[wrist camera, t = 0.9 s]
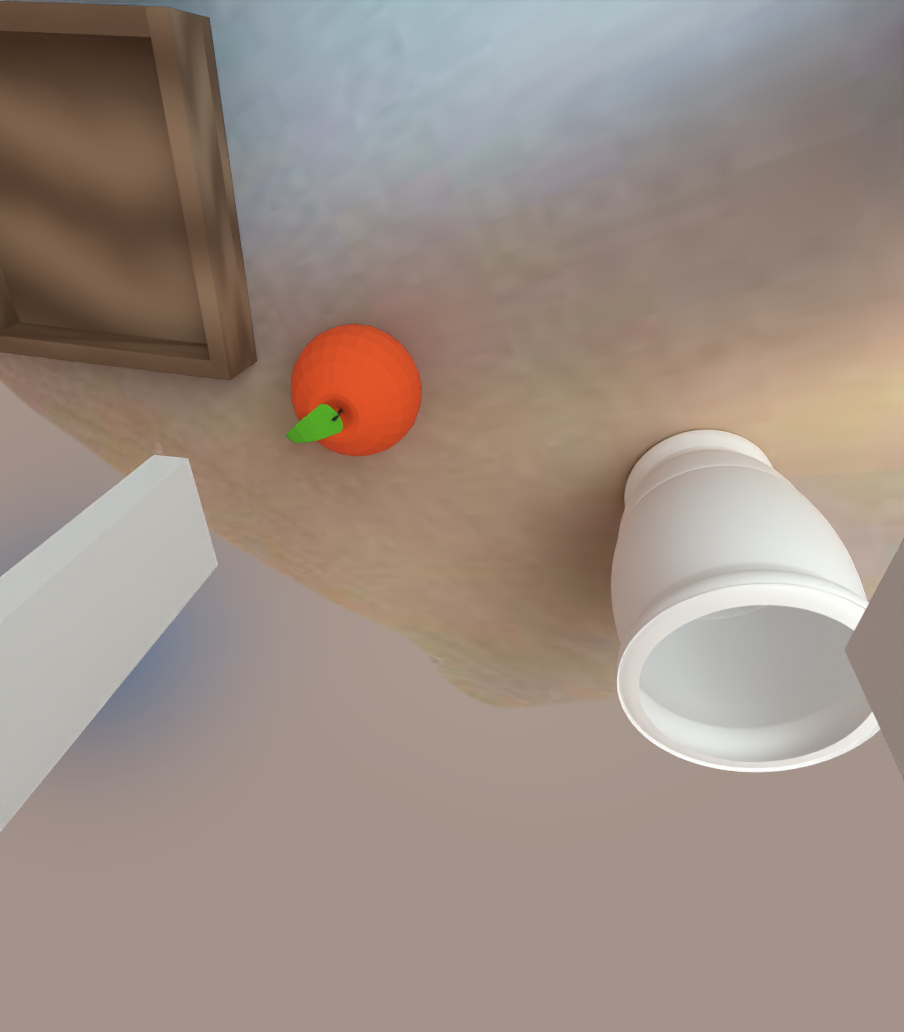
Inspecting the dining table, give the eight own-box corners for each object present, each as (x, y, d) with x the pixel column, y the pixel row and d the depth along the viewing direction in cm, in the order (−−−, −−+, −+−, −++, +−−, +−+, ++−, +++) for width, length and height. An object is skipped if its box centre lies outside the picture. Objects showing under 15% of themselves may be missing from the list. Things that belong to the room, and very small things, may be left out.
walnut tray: (-95, 6, 29) (-165, -6, 27) (209, 17, 27) (167, 6, 24) (21, 333, 38) (-22, 349, 36) (256, 360, 36) (230, 380, 33)
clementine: (351, 448, 38) (309, 507, 32) (283, 354, 36) (223, 400, 30) (456, 393, 35) (429, 448, 29) (389, 284, 32) (345, 321, 26)
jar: (795, 553, 36) (900, 774, 24) (620, 572, 40) (634, 776, 27) (793, 391, 31) (925, 567, 19) (592, 428, 35) (595, 600, 22)
